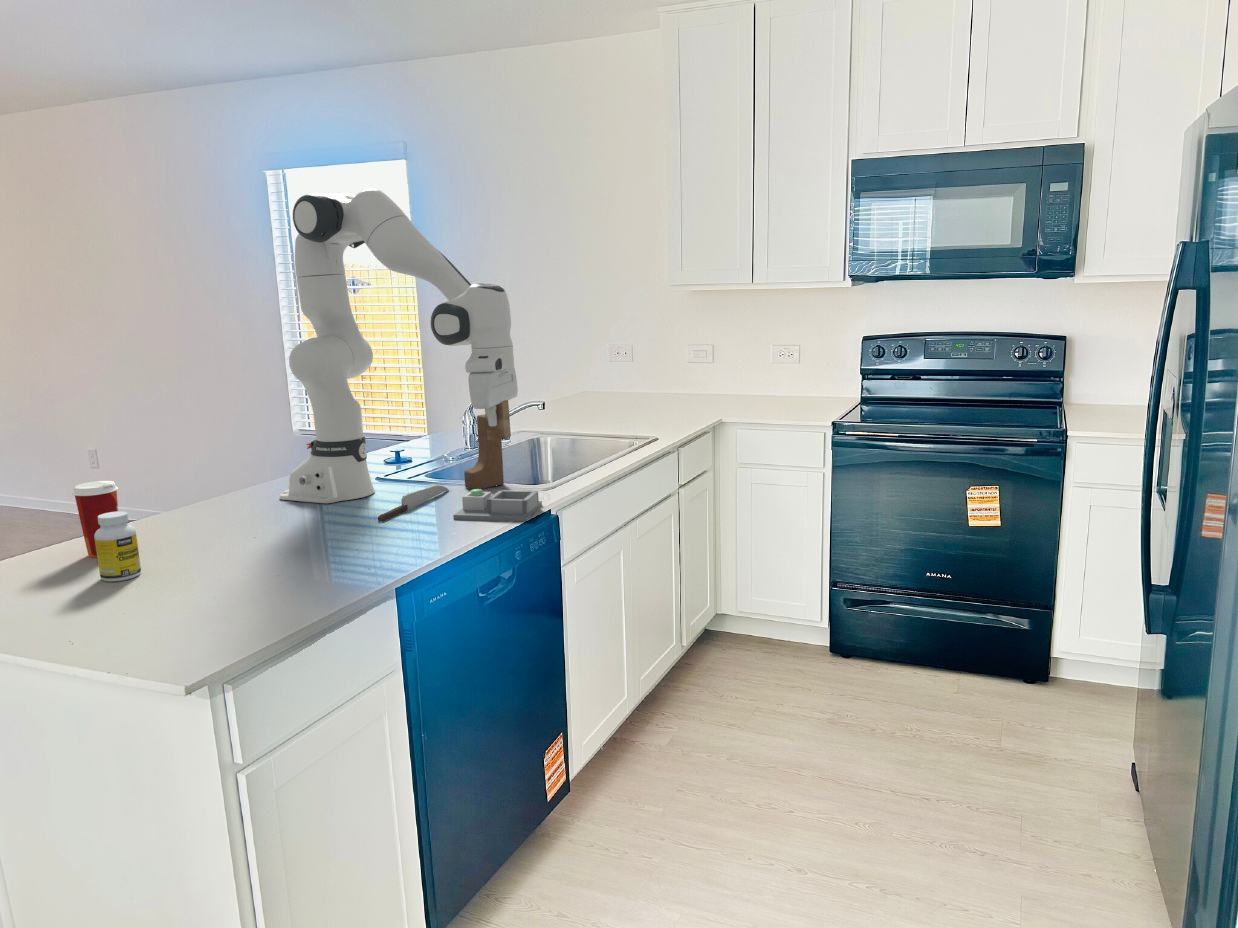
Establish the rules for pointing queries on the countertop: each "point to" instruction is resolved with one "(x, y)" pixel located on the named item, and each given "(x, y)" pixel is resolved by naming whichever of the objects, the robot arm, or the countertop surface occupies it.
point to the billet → (500, 423)
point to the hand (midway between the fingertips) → (498, 423)
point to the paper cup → (94, 508)
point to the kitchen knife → (413, 501)
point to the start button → (476, 492)
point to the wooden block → (485, 461)
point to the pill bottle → (117, 547)
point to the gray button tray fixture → (499, 506)
